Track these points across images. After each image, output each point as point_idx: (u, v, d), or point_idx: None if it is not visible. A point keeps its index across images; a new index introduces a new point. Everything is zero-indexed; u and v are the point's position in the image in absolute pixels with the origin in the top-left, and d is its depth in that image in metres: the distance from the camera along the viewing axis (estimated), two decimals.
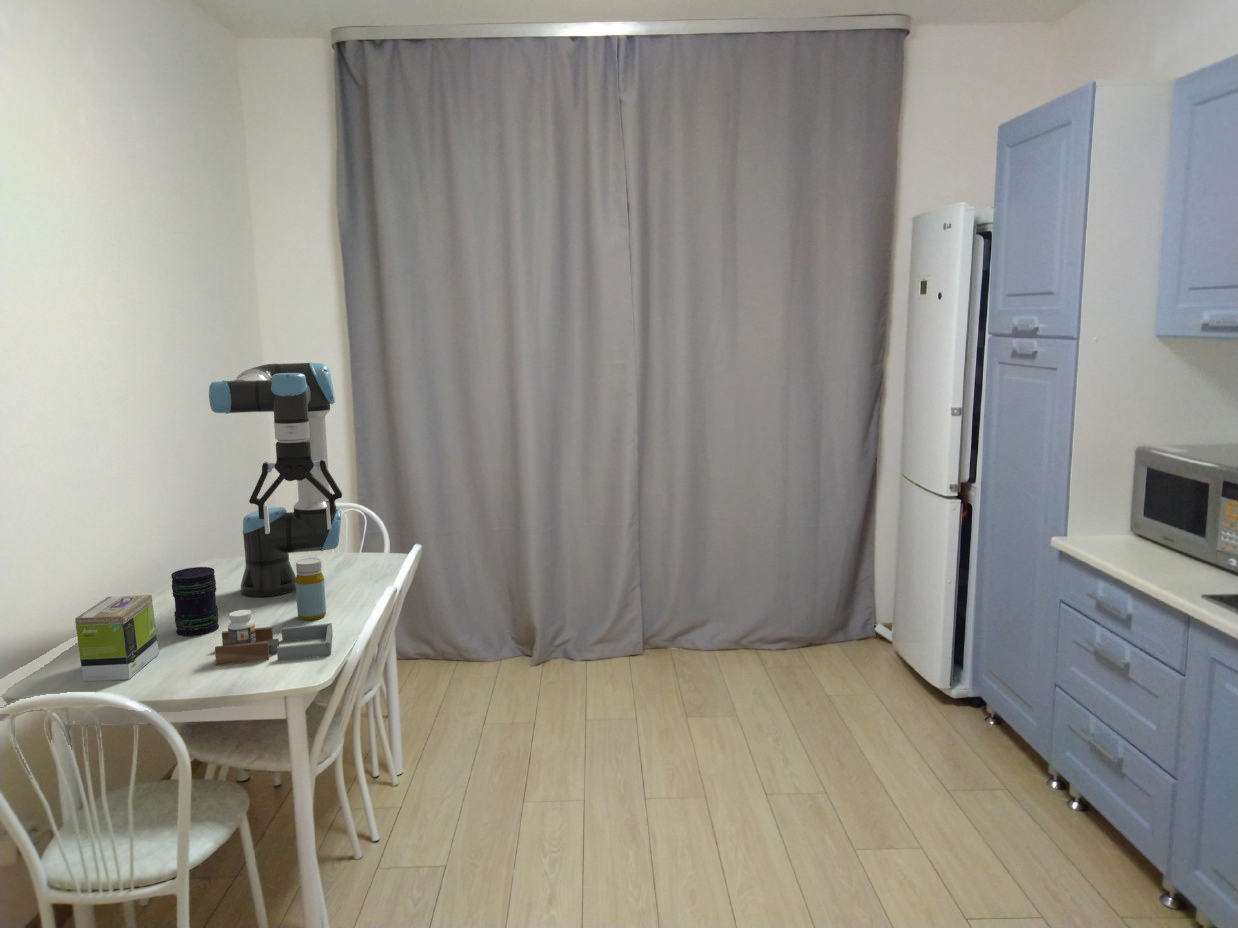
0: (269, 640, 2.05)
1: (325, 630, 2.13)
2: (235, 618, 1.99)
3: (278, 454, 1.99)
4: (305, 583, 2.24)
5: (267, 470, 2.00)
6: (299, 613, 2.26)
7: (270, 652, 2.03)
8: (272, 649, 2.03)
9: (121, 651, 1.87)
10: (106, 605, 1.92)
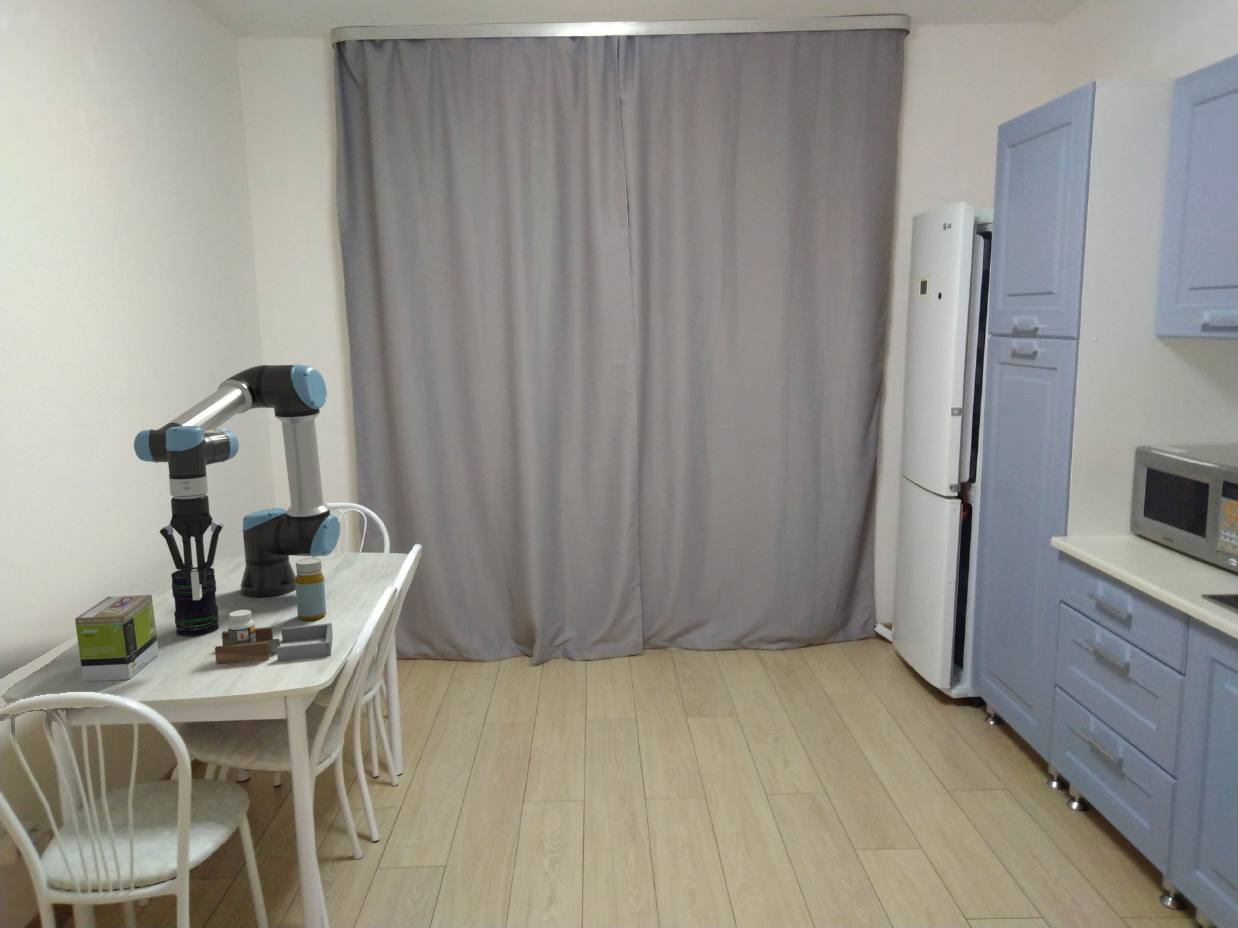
0: (270, 640, 2.05)
1: (325, 630, 2.13)
2: (235, 618, 1.99)
3: (173, 510, 1.92)
4: (305, 583, 2.24)
5: (168, 533, 1.93)
6: (299, 613, 2.26)
7: (271, 652, 2.02)
8: (273, 649, 2.03)
9: (121, 651, 1.87)
10: (106, 605, 1.92)
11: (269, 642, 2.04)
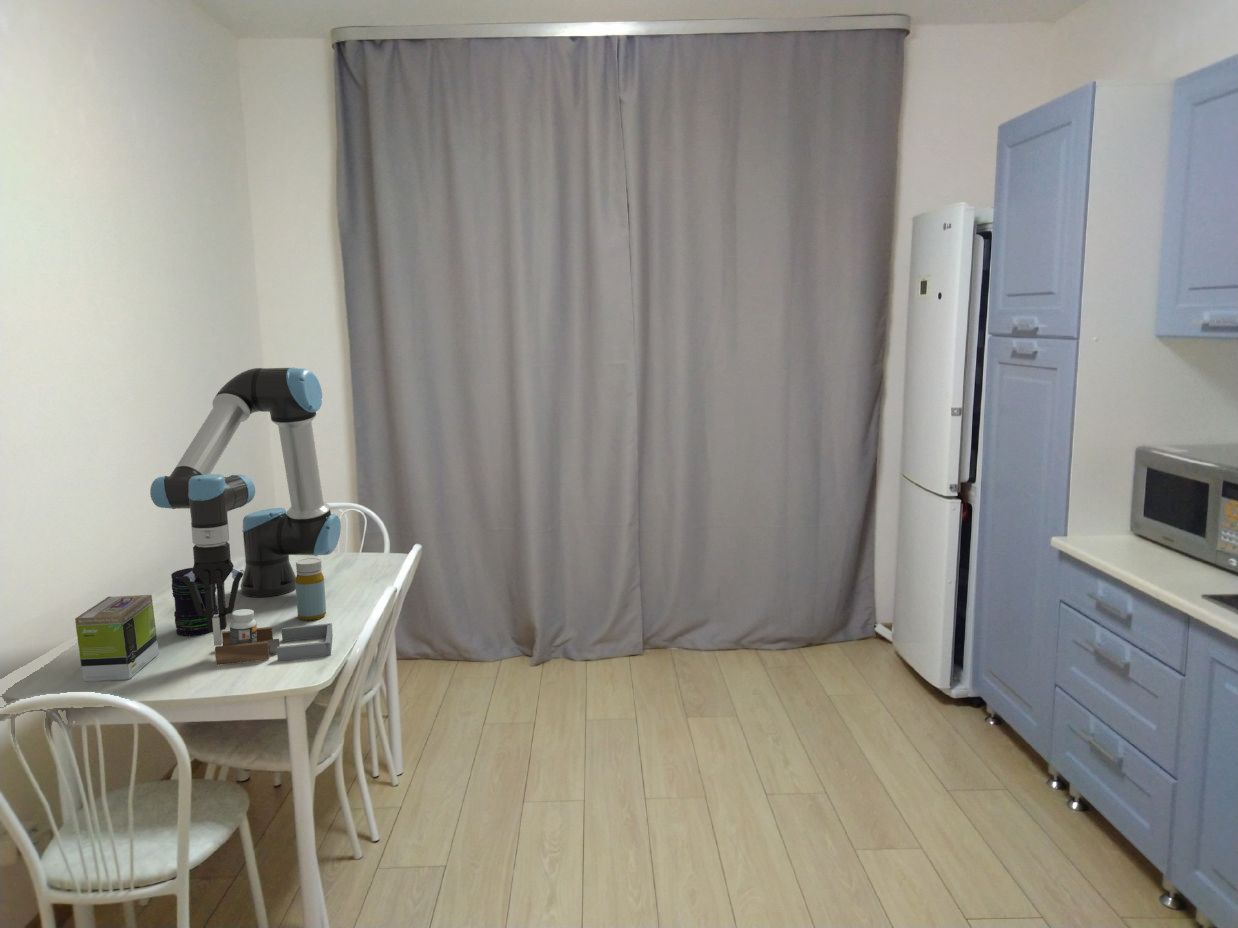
0: (270, 640, 2.05)
1: (325, 630, 2.13)
2: (237, 617, 1.99)
3: (195, 558, 1.95)
4: (305, 583, 2.24)
5: (190, 581, 1.96)
6: (299, 613, 2.26)
7: (271, 652, 2.02)
8: (274, 649, 2.03)
9: (121, 651, 1.87)
10: (106, 605, 1.92)
11: (269, 642, 2.04)
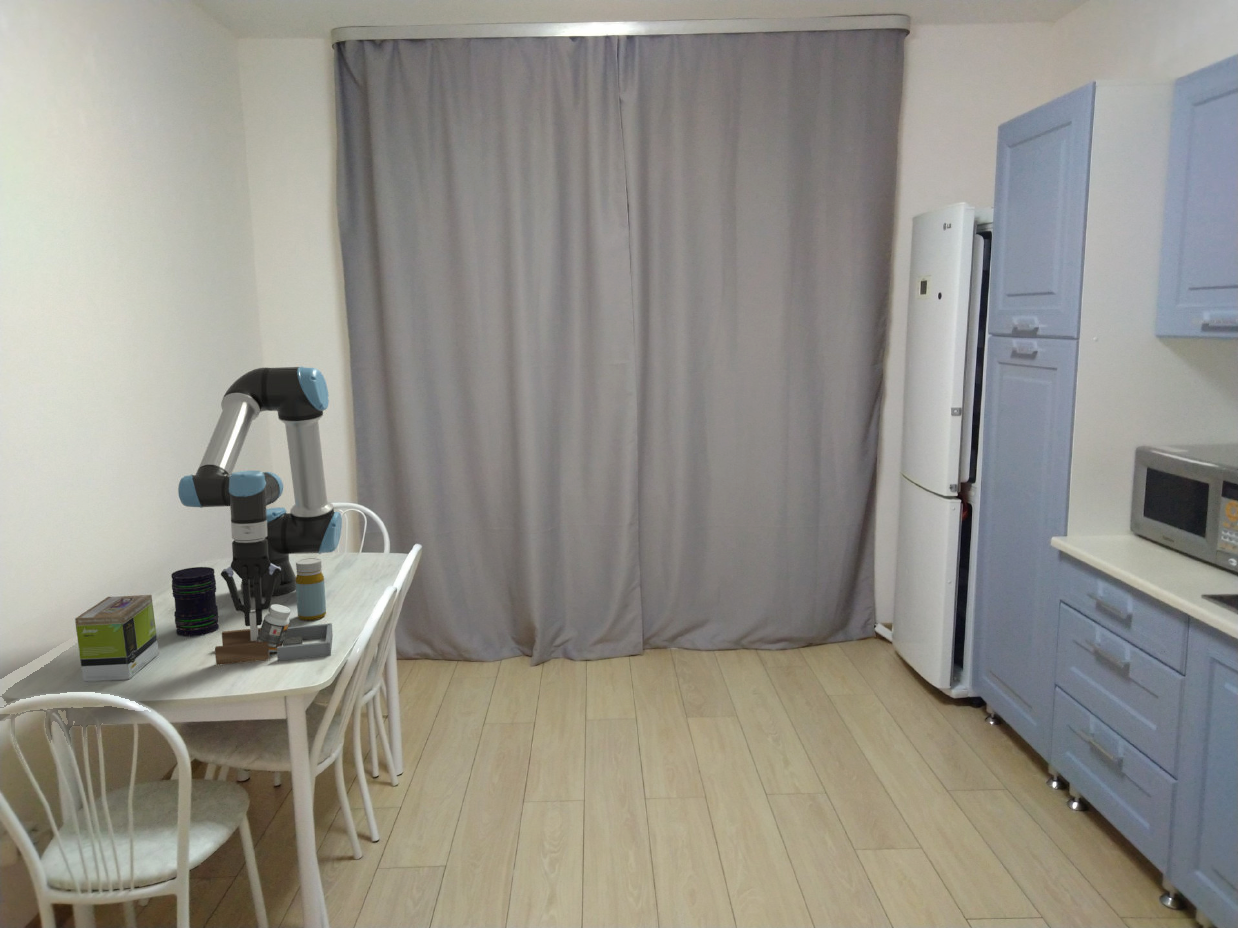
0: (293, 638, 2.06)
1: (325, 630, 2.13)
2: (275, 612, 2.01)
3: (234, 554, 1.97)
4: (305, 583, 2.24)
5: (228, 576, 1.98)
6: (299, 613, 2.26)
7: None
8: None
9: (121, 651, 1.87)
10: (106, 605, 1.92)
11: (292, 640, 2.05)
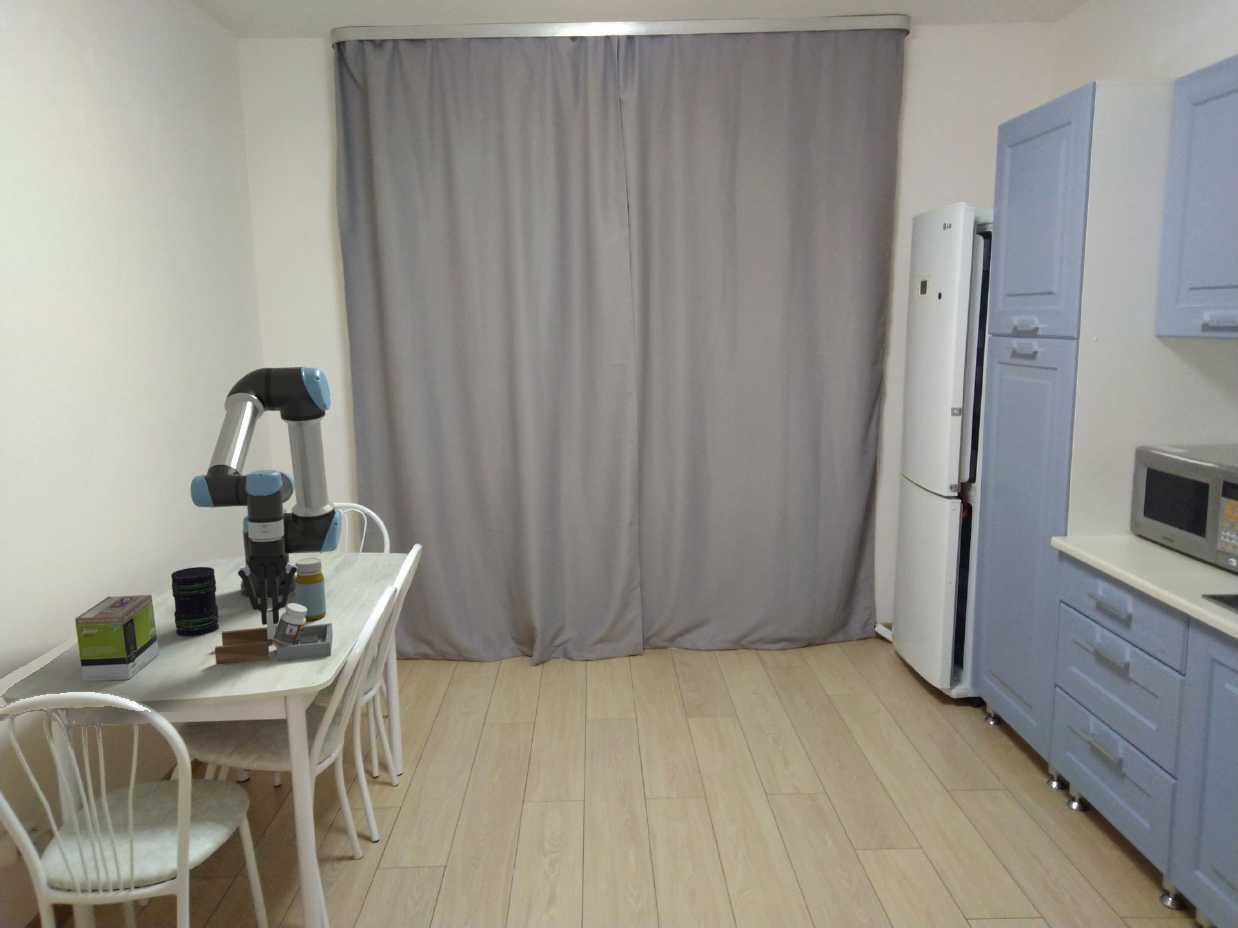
0: (309, 637, 2.07)
1: (325, 630, 2.13)
2: (291, 611, 2.02)
3: (251, 552, 1.98)
4: (305, 583, 2.24)
5: (245, 575, 1.99)
6: None
7: None
8: None
9: (121, 651, 1.87)
10: (106, 605, 1.92)
11: (308, 639, 2.06)
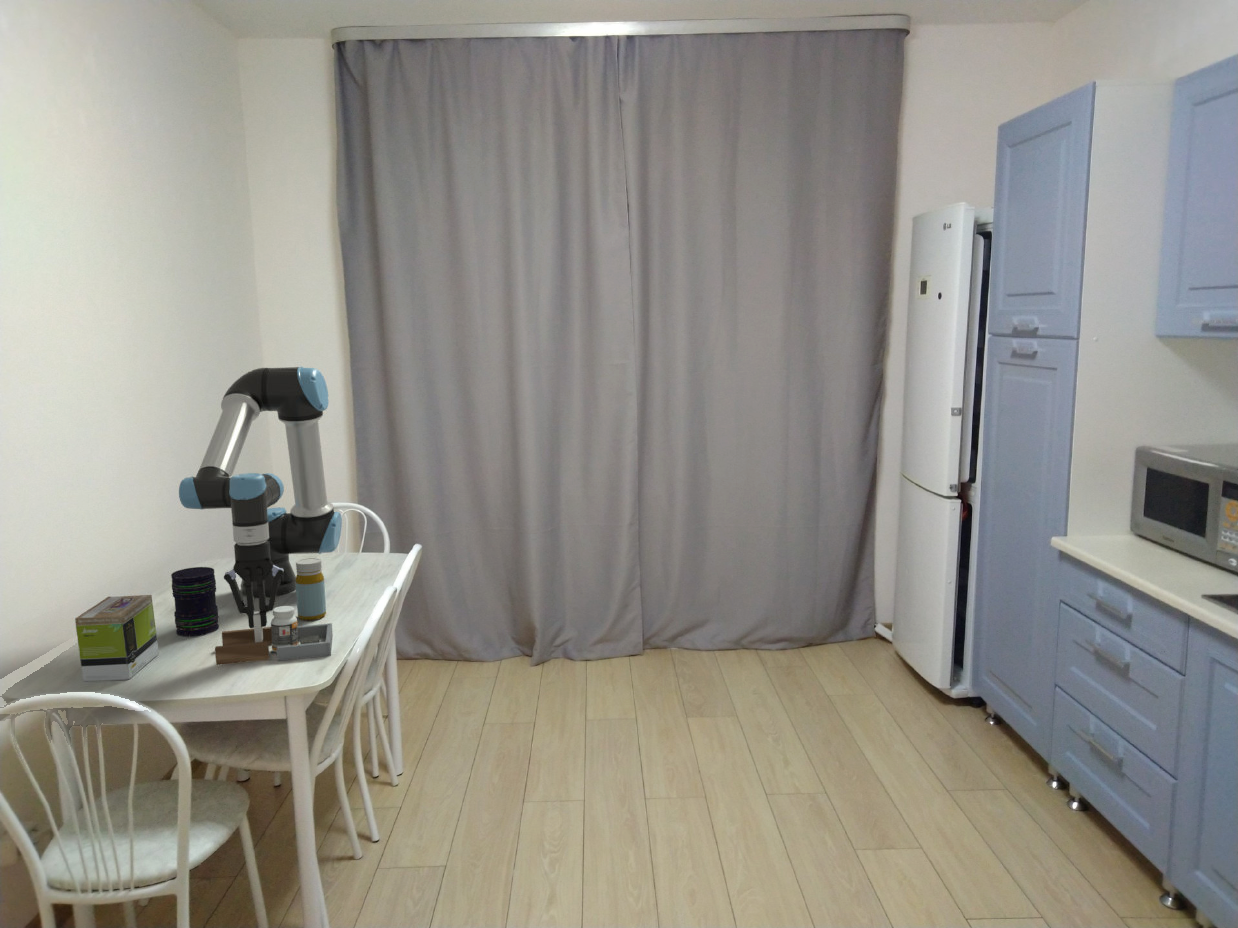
0: (310, 637, 2.07)
1: (325, 630, 2.13)
2: (278, 613, 2.02)
3: (236, 556, 1.97)
4: (305, 583, 2.24)
5: (231, 579, 1.99)
6: (299, 613, 2.26)
7: None
8: None
9: (121, 651, 1.87)
10: (106, 605, 1.92)
11: (309, 638, 2.06)
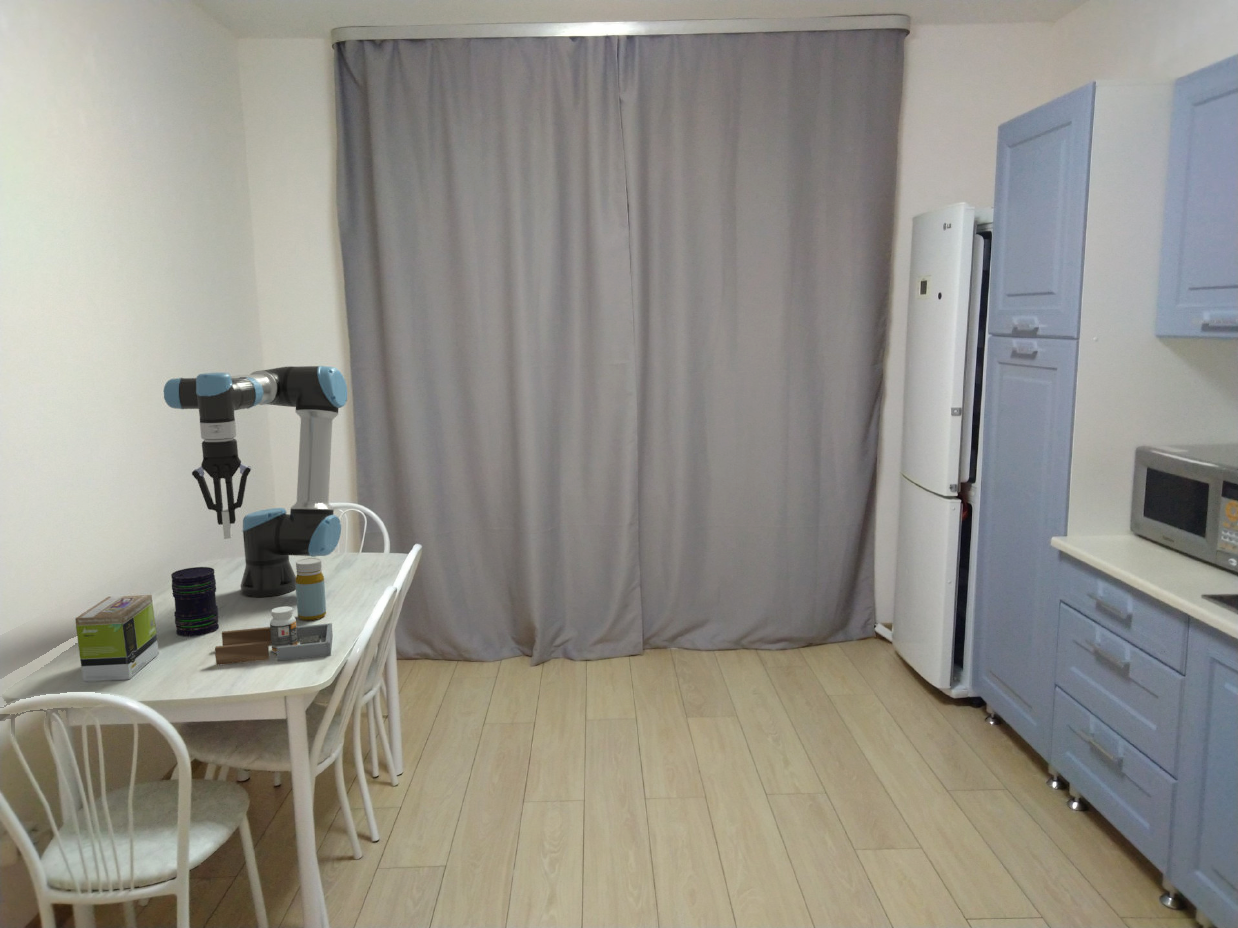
0: (310, 637, 2.07)
1: (325, 630, 2.13)
2: (276, 614, 2.01)
3: (204, 453, 2.02)
4: (305, 583, 2.24)
5: (199, 475, 2.03)
6: (299, 613, 2.26)
7: None
8: None
9: (121, 651, 1.87)
10: (106, 605, 1.92)
11: (309, 638, 2.06)
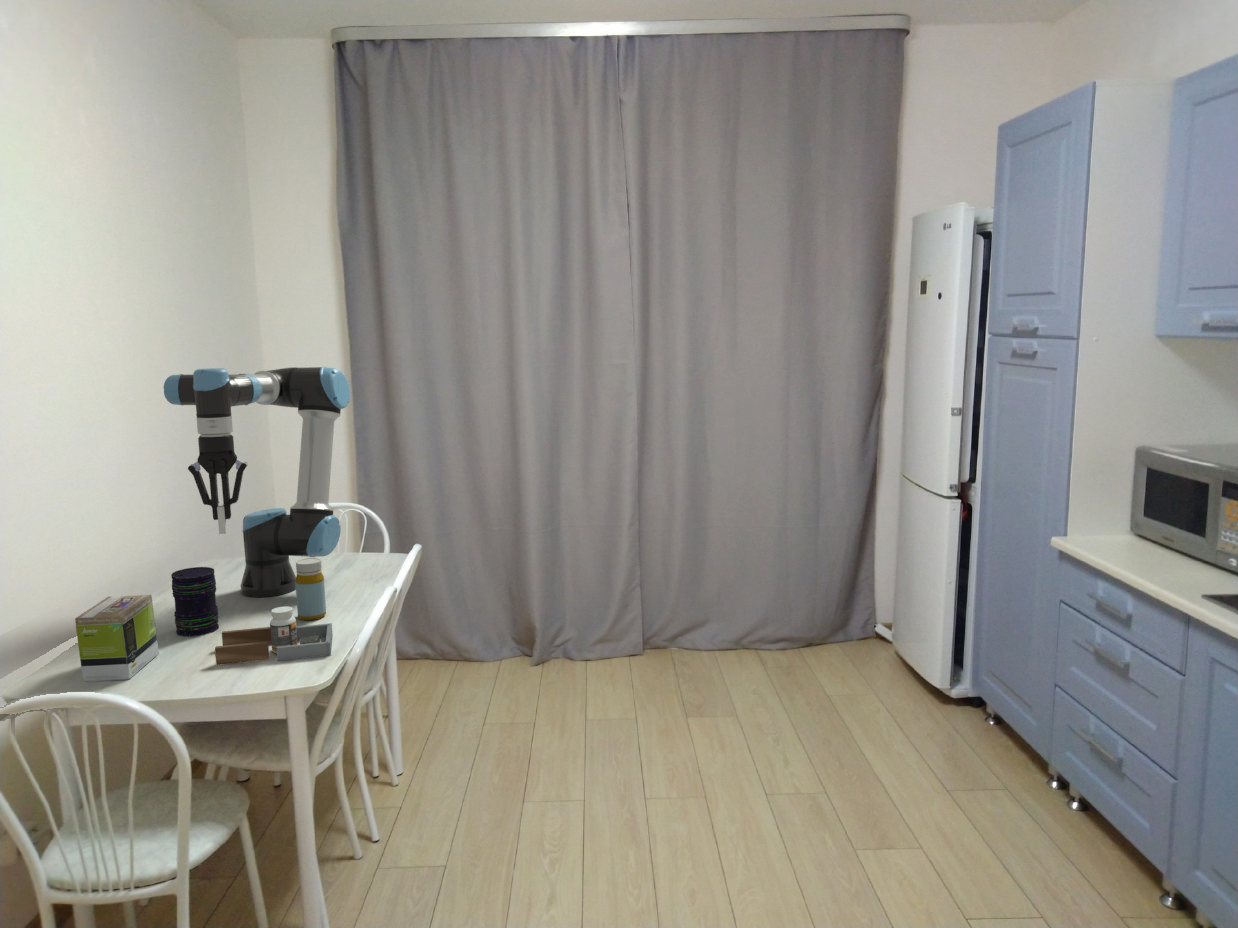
0: (310, 637, 2.07)
1: (325, 630, 2.13)
2: (276, 614, 2.01)
3: (200, 448, 2.03)
4: (305, 583, 2.24)
5: (195, 470, 2.04)
6: (299, 613, 2.26)
7: None
8: None
9: (121, 651, 1.87)
10: (106, 605, 1.92)
11: (309, 638, 2.06)
